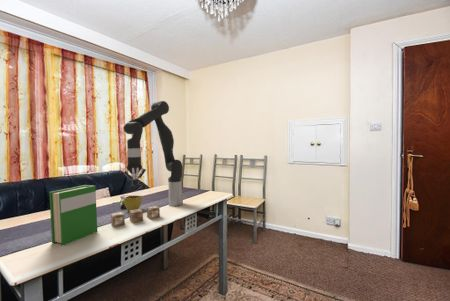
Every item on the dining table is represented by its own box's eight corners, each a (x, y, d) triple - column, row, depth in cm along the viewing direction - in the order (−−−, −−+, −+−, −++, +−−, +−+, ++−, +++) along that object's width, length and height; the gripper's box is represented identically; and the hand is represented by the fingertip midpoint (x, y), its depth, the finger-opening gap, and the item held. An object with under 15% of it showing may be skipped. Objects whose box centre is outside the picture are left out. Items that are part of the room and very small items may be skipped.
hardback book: (62, 245, 102) (60, 193, 101) (51, 243, 105) (49, 192, 104) (97, 231, 119) (95, 185, 118) (87, 229, 121) (85, 185, 120)
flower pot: (142, 208, 160) (142, 195, 159) (136, 211, 151) (136, 198, 151) (130, 208, 161) (130, 195, 160) (124, 211, 152) (123, 198, 152)
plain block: (140, 218, 138) (139, 208, 138) (143, 221, 133) (142, 210, 133) (129, 220, 135) (129, 210, 134) (132, 223, 130) (131, 212, 129)
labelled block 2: (156, 215, 144) (156, 205, 143) (159, 217, 139) (159, 207, 138) (146, 217, 140) (146, 207, 140) (149, 219, 135) (149, 209, 135)
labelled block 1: (122, 221, 132) (122, 211, 132) (124, 224, 127) (124, 214, 127) (111, 224, 129) (110, 213, 129) (113, 227, 124) (112, 216, 124)
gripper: (143, 155, 139) (144, 183, 140) (120, 156, 132) (121, 186, 132) (147, 155, 133) (148, 185, 134) (123, 157, 126) (124, 188, 126)
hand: (135, 185), depth 133 cm, fingers closed
